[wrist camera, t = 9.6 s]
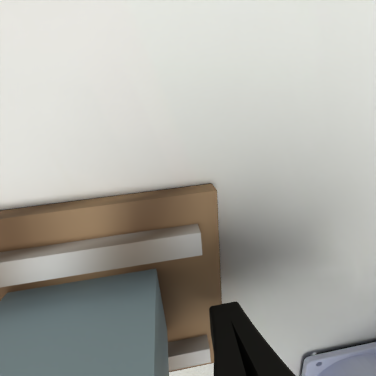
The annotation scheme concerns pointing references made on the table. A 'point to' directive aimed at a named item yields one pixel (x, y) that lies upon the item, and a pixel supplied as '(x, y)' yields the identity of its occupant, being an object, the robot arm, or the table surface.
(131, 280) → the panel block
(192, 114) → the table surface
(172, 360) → the boss board
